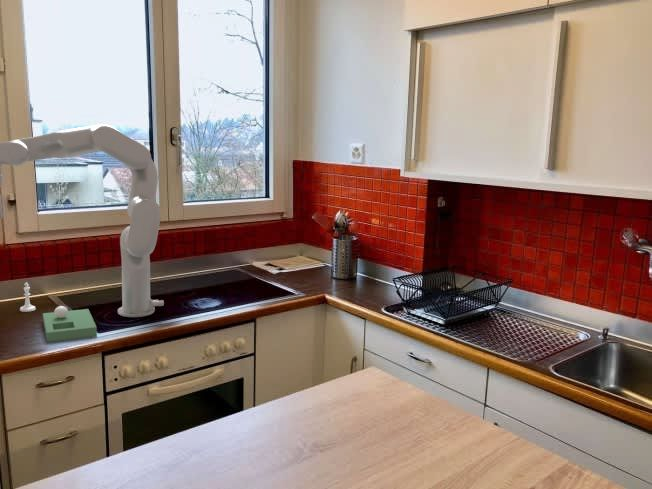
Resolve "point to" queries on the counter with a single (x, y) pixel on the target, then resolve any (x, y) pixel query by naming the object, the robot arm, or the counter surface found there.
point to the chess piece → (27, 300)
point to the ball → (61, 312)
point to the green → (69, 326)
